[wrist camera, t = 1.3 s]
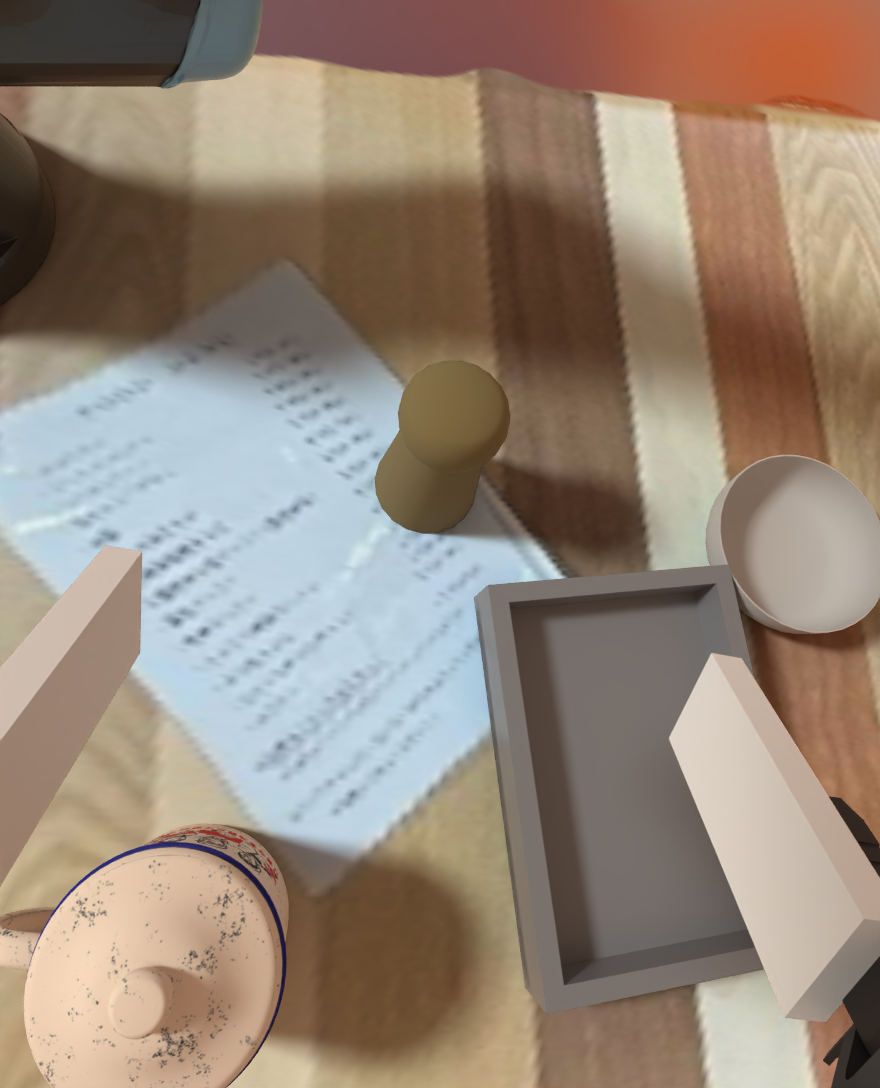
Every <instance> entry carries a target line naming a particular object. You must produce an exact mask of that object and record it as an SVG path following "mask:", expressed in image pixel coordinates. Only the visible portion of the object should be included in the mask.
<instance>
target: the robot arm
mask: <svg viewBox="0 0 880 1088" xmlns="http://www.w3.org/2000/svg"><path fill="white" fill-rule="evenodd" d="M262 6H263V0H0V86H156V87H161V88H172V87H174V86H176V85H178V84H180V83H185V82H196V81H207V80H218V79H226V78H229V77H232V76H234V75H236V74H238V73H239V72H241V71H242V70H243V69H244V68H245V66H246V65H247V64H248V62H249V61H250V59H251V58H252V55H253V53H254V51H255V48H256V45H257V41H258V36H259V31H260V25H261V17H262ZM54 227H55V207H54V200H53V196H52V192H51V189H50V186H49V184H48V181H47V179H46V177H45V175H44V173H43V171H42V169H41V167H40V165H39V163H38V161H37V159H36V157H35V155H34V153H33V151H32V149H31V148H30V146H29V145H28V143H27V142H26V140H25V139H24V137H23V136H22V135H21V133H20V132H19V131H18V130H17V128H16V127H15V126H14V125H13V124H12V123H11V122H10V121H9V120H8V119H7V118H6V117H4V116H3V115H2V114H1V113H0V305H1V304H3V303H4V302H5V301H7V300H8V299H10V298H11V297H12V296H13V295H15V294H16V293H17V292H18V291H19V290H20V289H21V288H23V287H24V285H25V284H26V283H27V282H28V281H29V280H30V279H31V278H32V276H33V275H34V274H35V273H36V271H37V270H38V268H39V267H40V265H41V264H42V262H43V260H44V258H45V256H46V254H47V252H48V250H49V247H50V244H51V241H52V237H53V233H54ZM141 581H142V552H141V551H135V550H130V549H124V548H118V547H113V546H107V545H105V546H104V547H103V549H102V550H101V551H100V552H99V553H98V554H97V556H96V557H95V558H94V559H93V560H92V561H91V563H90V564H89V565H88V566H87V567H86V568H85V570H84V571H83V572H82V573H81V574H80V575H79V577H78V578H77V579H76V580H75V581H74V582H73V584H72V585H71V586H70V587H69V588H68V589H67V591H66V592H65V593H64V594H63V595H62V596H61V598H60V599H59V600H58V601H57V602H56V603H55V605H54V606H53V607H52V608H51V609H50V610H49V612H48V613H47V614H46V615H45V616H44V617H43V619H42V620H41V621H40V622H39V623H38V624H37V625H36V627H35V628H34V629H33V630H32V631H31V632H30V634H29V635H28V636H27V637H26V638H25V639H24V641H23V642H22V643H21V644H20V645H19V646H18V648H17V649H16V650H15V651H14V652H13V653H12V655H11V656H10V657H9V658H8V659H7V660H6V662H5V663H4V664H3V665H2V666H1V667H0V886H1V884H2V883H3V881H4V879H5V878H6V876H7V874H8V873H9V871H10V869H11V868H12V866H13V864H14V863H15V861H16V859H17V858H18V856H19V854H20V853H21V851H22V849H23V848H24V846H25V844H26V843H27V841H28V839H29V838H30V836H31V834H32V832H33V831H34V829H35V827H36V826H37V824H38V822H39V821H40V819H41V817H42V816H43V814H44V812H45V811H46V809H47V807H48V806H49V804H50V802H51V801H52V799H53V797H54V796H55V794H56V792H57V791H58V789H59V787H60V786H61V784H62V782H63V781H64V779H65V777H66V776H67V774H68V772H69V771H70V769H71V767H72V766H73V764H74V762H75V761H76V759H77V757H78V756H79V754H80V752H81V751H82V749H83V747H84V746H85V744H86V742H87V741H88V739H89V737H90V736H91V734H92V732H93V731H94V729H95V727H96V725H97V724H98V722H99V720H100V719H101V717H102V715H103V714H104V712H105V710H106V709H107V707H108V705H109V704H110V702H111V700H112V699H113V697H114V695H115V694H116V692H117V690H118V689H119V687H120V685H121V684H122V682H123V680H124V679H125V677H126V675H127V674H128V672H129V670H130V669H131V667H132V665H133V664H134V662H135V660H136V659H137V657H138V655H139V654H140V630H141ZM669 740H670V743H671V745H672V748H673V750H674V752H675V755H676V757H677V760H678V762H679V764H680V767H681V769H682V772H683V774H684V776H685V779H686V781H687V784H688V786H689V789H690V791H691V793H692V796H693V798H694V801H695V803H696V805H697V808H698V810H699V813H700V815H701V818H702V820H703V822H704V825H705V827H706V830H707V832H708V834H709V837H710V839H711V842H712V844H713V846H714V849H715V851H716V854H717V856H718V859H719V861H720V863H721V866H722V868H723V871H724V873H725V875H726V878H727V880H728V883H729V885H730V887H731V890H732V892H733V895H734V897H735V900H736V902H737V904H738V907H739V909H740V912H741V914H742V916H743V919H744V921H745V924H746V926H747V929H748V931H749V933H750V936H751V938H752V941H753V943H754V945H755V948H756V950H757V953H758V955H759V957H760V960H761V962H762V965H763V967H764V970H765V972H766V974H767V977H768V979H769V982H770V984H771V986H772V989H773V991H774V994H775V996H776V998H777V1001H778V1003H779V1006H780V1008H781V1011H782V1013H783V1015H784V1018H791V1019H800V1020H808V1021H817V1022H825V1023H826V1021H827V1020H828V1019H829V1018H830V1017H831V1016H832V1014H833V1013H834V1012H835V1011H836V1010H837V1009H838V1007H839V1006H840V1005H841V1004H842V1003H844V1005H845V1007H846V1009H847V1011H848V1013H849V1015H850V1017H851V1019H852V1021H853V1023H854V1024H853V1025H852V1026H851V1027H850V1028H849V1030H848V1031H847V1032H846V1033H845V1034H844V1035H843V1036H842V1037H841V1039H840V1040H839V1041H838V1042H837V1043H836V1044H835V1045H834V1046H833V1047H832V1049H831V1050H830V1051H829V1052H828V1053H827V1055H826V1056H825V1058H824V1059H823V1061H824V1062H825V1063H827V1064H828V1065H829V1066H830V1065H831V1063H832V1062H833V1061H834V1060H835V1059H836V1058H839V1059H838V1063H837V1067H836V1071H835V1075H834V1078H833V1082H832V1086H831V1088H880V848H879V845H880V844H879V843H878V841H877V840H876V838H875V837H874V835H873V834H872V832H871V831H870V829H869V828H868V826H867V825H866V823H865V822H864V820H863V819H862V818H861V817H860V816H859V815H858V814H856V813H855V812H854V811H853V810H852V809H851V808H850V807H849V806H848V805H847V804H846V803H845V802H844V801H843V800H842V799H841V798H836V797H830V796H828V795H827V793H826V792H825V790H824V789H823V787H822V785H821V784H820V782H819V781H818V779H817V777H816V776H815V774H814V773H813V771H812V770H811V768H810V766H809V765H808V763H807V762H806V760H805V758H804V757H803V755H802V754H801V752H800V750H799V749H798V747H797V746H796V744H795V743H794V741H793V739H792V738H791V736H790V735H789V733H788V731H787V730H786V728H785V727H784V725H783V723H782V722H781V720H780V719H779V717H778V716H777V714H776V712H775V711H774V709H773V708H772V706H771V704H770V703H769V701H768V700H767V698H766V696H765V695H764V693H763V692H762V690H761V688H760V687H759V685H758V684H757V682H756V681H755V679H754V677H753V676H752V674H751V673H750V671H749V669H748V668H747V666H746V665H745V663H744V661H743V660H742V658H737V657H732V656H726V655H720V654H715V653H711V655H710V657H709V659H708V661H707V663H706V665H705V667H704V669H703V671H702V673H701V675H700V677H699V679H698V681H697V683H696V685H695V687H694V689H693V691H692V693H691V695H690V697H689V699H688V701H687V703H686V705H685V707H684V709H683V711H682V713H681V715H680V717H679V719H678V721H677V723H676V725H675V727H674V729H673V731H672V733H671V735H670V737H669Z"/></svg>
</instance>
